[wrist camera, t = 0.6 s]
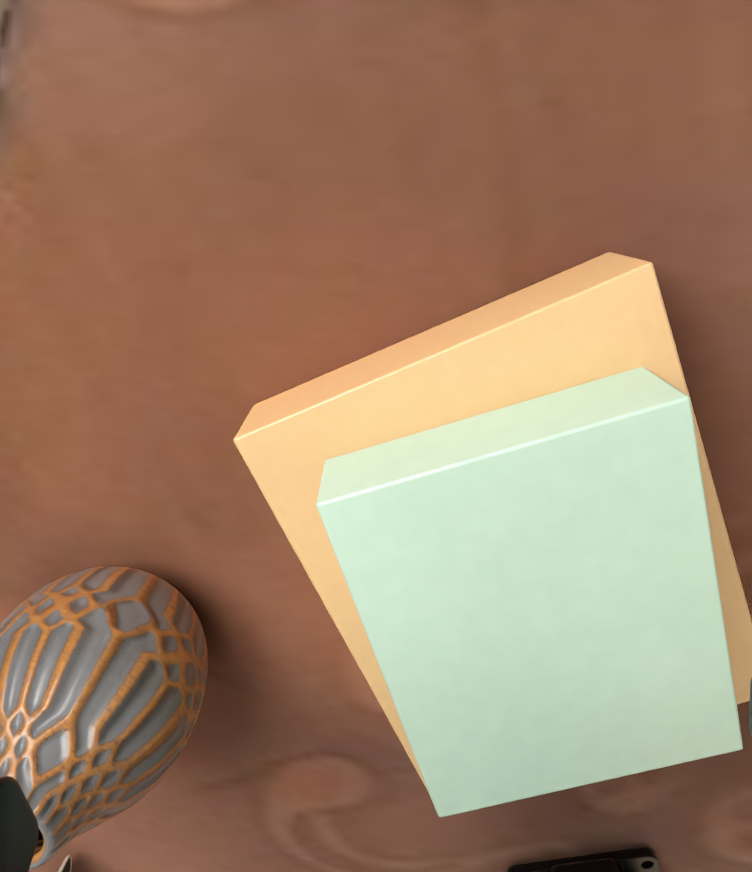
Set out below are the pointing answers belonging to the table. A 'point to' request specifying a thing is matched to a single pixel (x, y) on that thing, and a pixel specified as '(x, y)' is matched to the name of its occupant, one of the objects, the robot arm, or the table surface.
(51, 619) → the vase
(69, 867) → the sunglasses
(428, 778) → the box stack
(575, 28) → the table surface
